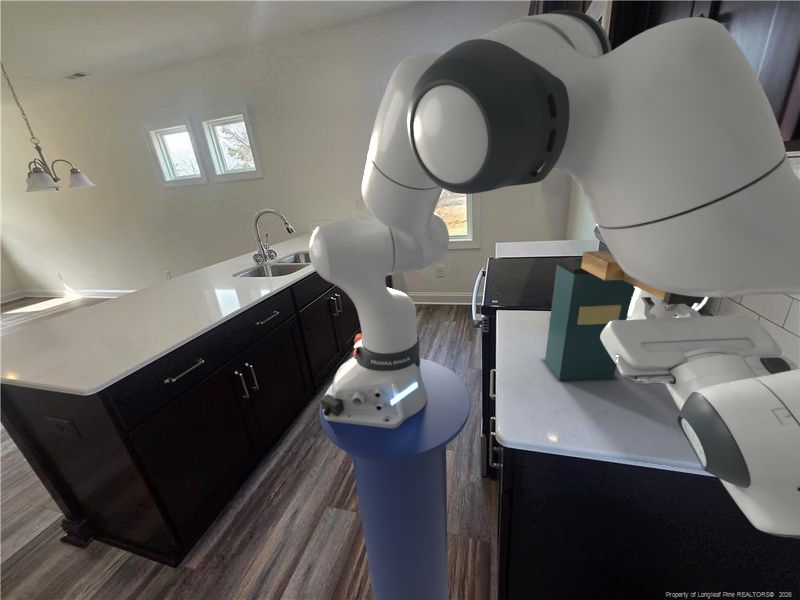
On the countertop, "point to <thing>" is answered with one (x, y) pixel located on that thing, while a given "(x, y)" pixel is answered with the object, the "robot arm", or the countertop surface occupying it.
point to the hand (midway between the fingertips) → (654, 298)
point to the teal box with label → (583, 321)
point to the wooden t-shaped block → (627, 276)
